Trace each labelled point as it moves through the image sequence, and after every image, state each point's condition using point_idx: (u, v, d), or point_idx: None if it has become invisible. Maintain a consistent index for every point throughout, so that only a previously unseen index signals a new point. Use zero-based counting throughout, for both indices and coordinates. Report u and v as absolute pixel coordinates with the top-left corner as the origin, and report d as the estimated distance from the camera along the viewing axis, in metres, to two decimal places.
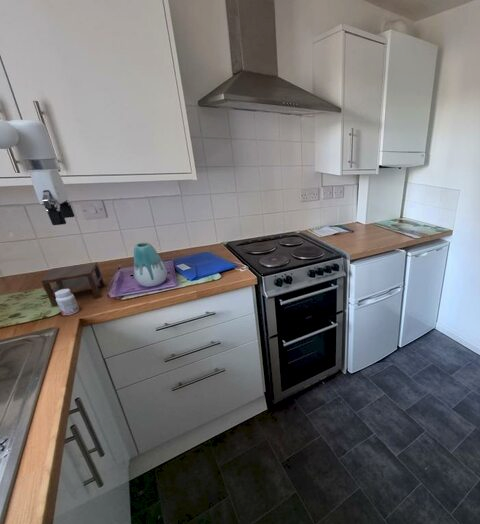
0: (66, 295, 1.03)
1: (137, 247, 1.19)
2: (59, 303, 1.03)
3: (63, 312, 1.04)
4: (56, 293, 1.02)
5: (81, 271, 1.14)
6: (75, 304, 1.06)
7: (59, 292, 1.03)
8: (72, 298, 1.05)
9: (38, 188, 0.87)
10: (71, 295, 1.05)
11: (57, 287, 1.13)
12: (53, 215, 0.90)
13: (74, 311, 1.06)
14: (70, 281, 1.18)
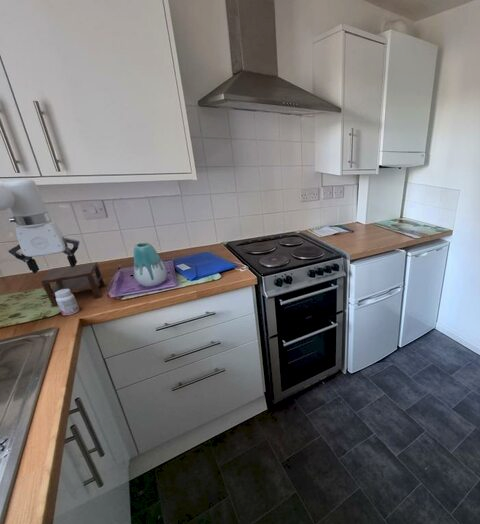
0: (66, 295, 1.03)
1: (137, 247, 1.19)
2: (59, 303, 1.03)
3: (63, 312, 1.04)
4: (56, 293, 1.02)
5: (81, 271, 1.14)
6: (75, 304, 1.06)
7: (59, 292, 1.03)
8: (72, 298, 1.05)
9: (60, 236, 0.97)
10: (71, 295, 1.05)
11: (57, 287, 1.13)
12: (73, 257, 1.02)
13: (74, 311, 1.06)
14: (70, 281, 1.18)
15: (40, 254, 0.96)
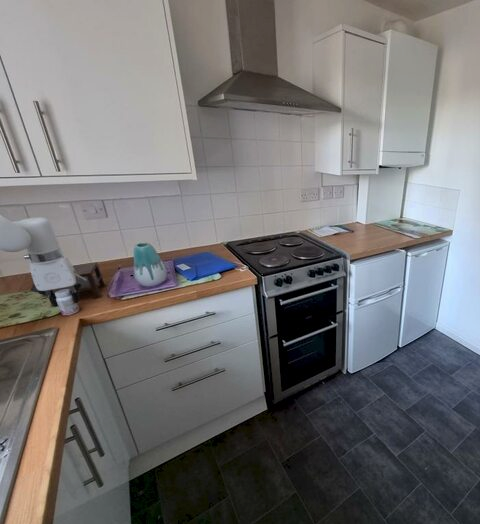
0: (66, 295, 1.03)
1: (137, 247, 1.19)
2: (59, 303, 1.03)
3: (63, 312, 1.04)
4: (56, 293, 1.02)
5: (81, 271, 1.14)
6: (75, 304, 1.06)
7: (59, 292, 1.03)
8: (72, 298, 1.05)
9: (71, 270, 1.02)
10: (71, 295, 1.05)
11: None
12: (77, 293, 1.06)
13: (74, 311, 1.06)
14: None
15: (52, 288, 1.00)
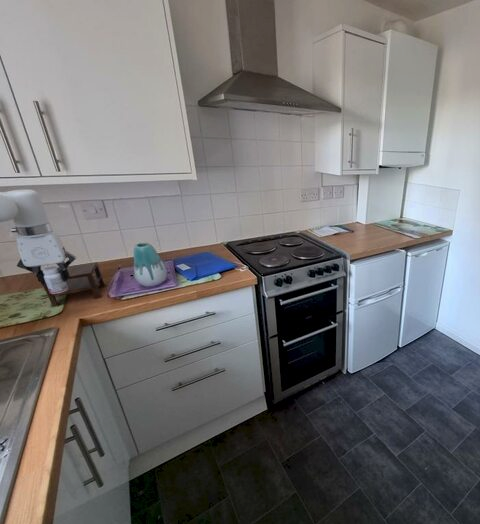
0: (54, 272, 1.00)
1: (137, 247, 1.19)
2: (47, 281, 0.99)
3: (51, 290, 1.00)
4: (44, 270, 0.99)
5: (81, 271, 1.14)
6: (64, 282, 1.02)
7: (47, 269, 0.99)
8: None
9: (60, 246, 0.98)
10: None
11: None
12: (66, 271, 1.02)
13: (62, 290, 1.02)
14: (70, 281, 1.18)
15: (40, 264, 0.96)
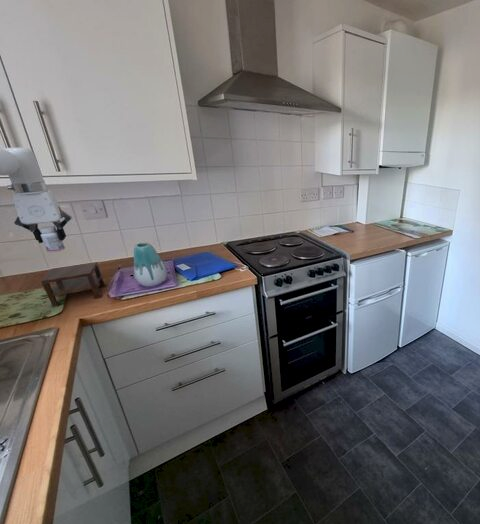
0: (51, 231, 1.02)
1: (137, 247, 1.19)
2: (44, 239, 1.02)
3: (48, 249, 1.03)
4: (41, 228, 1.01)
5: (81, 271, 1.14)
6: (61, 241, 1.05)
7: (44, 228, 1.02)
8: (57, 235, 1.04)
9: (56, 205, 1.01)
10: (56, 232, 1.04)
11: (57, 287, 1.13)
12: (62, 231, 1.05)
13: (59, 249, 1.05)
14: (70, 281, 1.18)
15: (36, 222, 0.99)
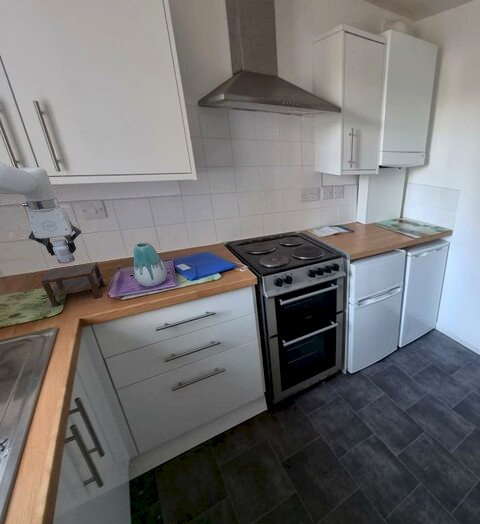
0: (62, 244, 1.09)
1: (137, 247, 1.19)
2: (56, 252, 1.09)
3: (59, 261, 1.10)
4: (53, 242, 1.08)
5: (81, 271, 1.14)
6: (71, 254, 1.12)
7: (56, 241, 1.09)
8: (68, 248, 1.11)
9: (67, 220, 1.07)
10: (67, 245, 1.11)
11: (57, 287, 1.13)
12: (73, 244, 1.11)
13: (70, 261, 1.12)
14: (70, 281, 1.18)
15: (49, 236, 1.06)
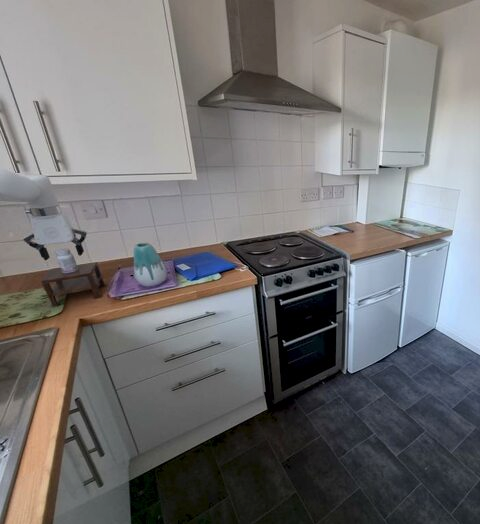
0: (66, 254, 1.10)
1: (137, 247, 1.19)
2: (59, 261, 1.10)
3: (63, 270, 1.11)
4: (56, 251, 1.09)
5: (81, 271, 1.14)
6: (75, 263, 1.13)
7: (59, 251, 1.10)
8: (71, 257, 1.12)
9: (69, 227, 1.08)
10: (70, 254, 1.12)
11: (57, 287, 1.13)
12: (81, 246, 1.13)
13: (73, 270, 1.13)
14: (70, 281, 1.18)
15: (51, 243, 1.06)
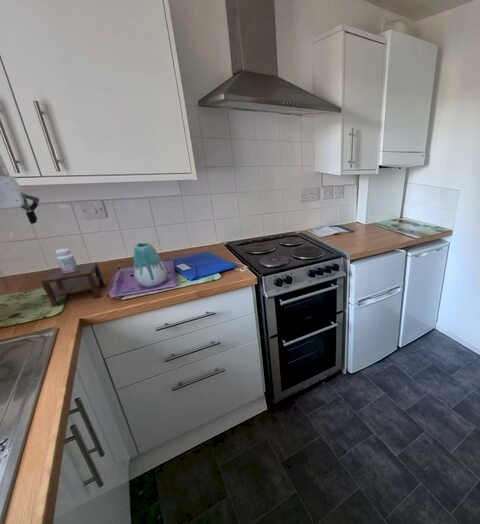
0: (66, 254, 1.10)
1: (137, 247, 1.19)
2: (59, 261, 1.10)
3: (63, 270, 1.11)
4: (56, 251, 1.09)
5: (81, 271, 1.14)
6: (75, 263, 1.13)
7: (59, 251, 1.10)
8: (71, 257, 1.12)
9: (18, 191, 0.98)
10: (70, 254, 1.12)
11: (57, 287, 1.13)
12: (33, 214, 1.03)
13: (73, 270, 1.13)
14: (70, 281, 1.18)
15: None
